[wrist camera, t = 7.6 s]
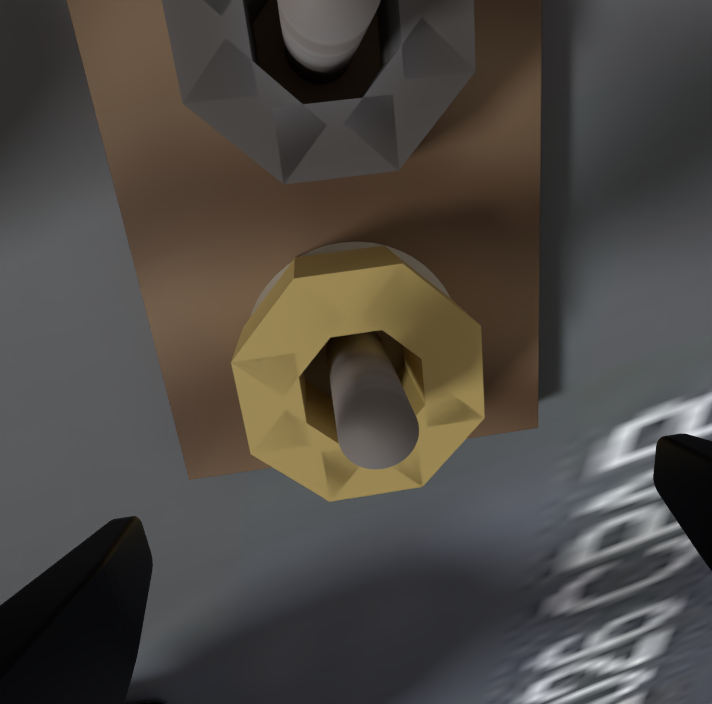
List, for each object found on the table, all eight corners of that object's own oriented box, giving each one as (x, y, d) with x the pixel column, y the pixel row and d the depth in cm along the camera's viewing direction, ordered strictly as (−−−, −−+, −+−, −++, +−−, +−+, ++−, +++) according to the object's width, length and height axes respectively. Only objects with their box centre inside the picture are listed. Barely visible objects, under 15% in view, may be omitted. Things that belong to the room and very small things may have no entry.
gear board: (521, 409, 20) (630, 530, 13) (197, 456, 19) (143, 609, 13) (519, -124, 14) (705, -365, 8) (64, -83, 14) (-152, -310, 7)
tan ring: (457, 427, 18) (487, 476, 15) (269, 456, 18) (262, 512, 15) (446, 237, 16) (478, 253, 13) (230, 265, 15) (214, 289, 13)
